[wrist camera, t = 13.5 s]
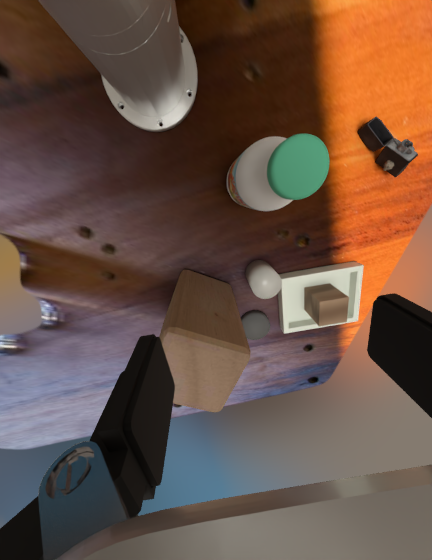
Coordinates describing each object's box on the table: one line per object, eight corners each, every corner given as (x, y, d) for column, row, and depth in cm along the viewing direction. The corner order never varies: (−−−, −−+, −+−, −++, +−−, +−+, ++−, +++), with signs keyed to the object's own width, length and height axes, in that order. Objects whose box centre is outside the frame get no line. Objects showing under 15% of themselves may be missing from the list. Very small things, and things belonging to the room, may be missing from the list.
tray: (276, 274, 41) (281, 279, 39) (354, 261, 41) (363, 265, 39) (279, 326, 46) (284, 333, 43) (349, 314, 45) (357, 321, 43)
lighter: (348, 148, 36) (358, 124, 31) (360, 137, 36) (371, 110, 30) (391, 181, 34) (409, 161, 28) (404, 169, 33) (425, 147, 28)
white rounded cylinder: (243, 262, 40) (250, 273, 34) (270, 257, 40) (281, 268, 34) (246, 286, 42) (253, 300, 36) (272, 282, 42) (282, 295, 36)
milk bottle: (241, 143, 33) (291, 78, 14) (282, 171, 34) (373, 145, 16) (217, 191, 35) (232, 189, 17) (256, 215, 37) (309, 236, 18)
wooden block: (232, 283, 41) (255, 356, 23) (213, 324, 45) (220, 417, 26) (183, 266, 40) (164, 330, 21) (167, 310, 43) (139, 399, 24)
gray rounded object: (237, 312, 44) (239, 317, 42) (266, 307, 44) (269, 312, 42) (240, 335, 46) (242, 341, 44) (268, 331, 46) (270, 337, 44)
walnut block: (304, 287, 42) (319, 301, 36) (329, 283, 42) (349, 297, 36) (304, 309, 44) (318, 326, 38) (328, 305, 44) (346, 321, 38)
